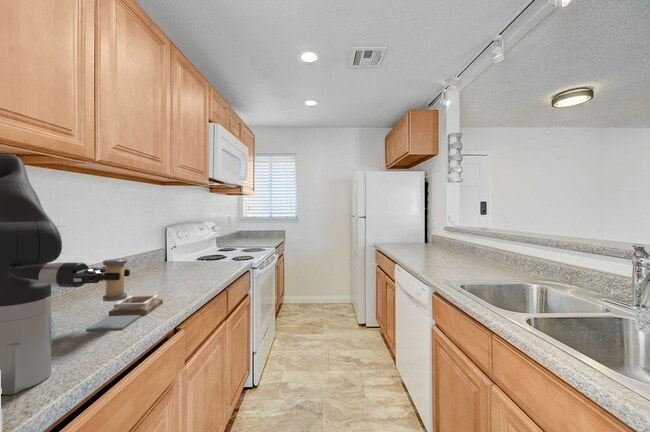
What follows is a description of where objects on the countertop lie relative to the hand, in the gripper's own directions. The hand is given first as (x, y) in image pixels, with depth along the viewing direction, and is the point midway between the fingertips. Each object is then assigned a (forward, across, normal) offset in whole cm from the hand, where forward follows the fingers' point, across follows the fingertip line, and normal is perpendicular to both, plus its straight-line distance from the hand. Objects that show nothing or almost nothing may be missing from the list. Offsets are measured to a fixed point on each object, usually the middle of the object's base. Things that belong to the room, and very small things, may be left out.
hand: (124, 274), depth 88 cm
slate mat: (-2, 0, +15) cm, 16 cm away
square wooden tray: (-2, +13, +16) cm, 20 cm away
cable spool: (-3, 0, +8) cm, 8 cm away
